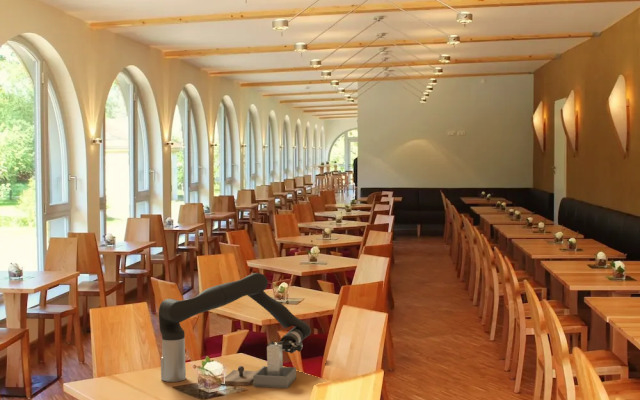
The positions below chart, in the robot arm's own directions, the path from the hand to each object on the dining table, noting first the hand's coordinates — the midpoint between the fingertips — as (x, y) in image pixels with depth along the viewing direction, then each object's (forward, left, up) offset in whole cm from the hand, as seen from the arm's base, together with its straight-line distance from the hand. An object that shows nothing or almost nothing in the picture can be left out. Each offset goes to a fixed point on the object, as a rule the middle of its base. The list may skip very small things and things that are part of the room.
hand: (281, 350), depth 319 cm
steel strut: (0, -10, -10) cm, 14 cm away
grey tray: (0, -10, -11) cm, 14 cm away
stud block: (-15, -8, -11) cm, 20 cm away
